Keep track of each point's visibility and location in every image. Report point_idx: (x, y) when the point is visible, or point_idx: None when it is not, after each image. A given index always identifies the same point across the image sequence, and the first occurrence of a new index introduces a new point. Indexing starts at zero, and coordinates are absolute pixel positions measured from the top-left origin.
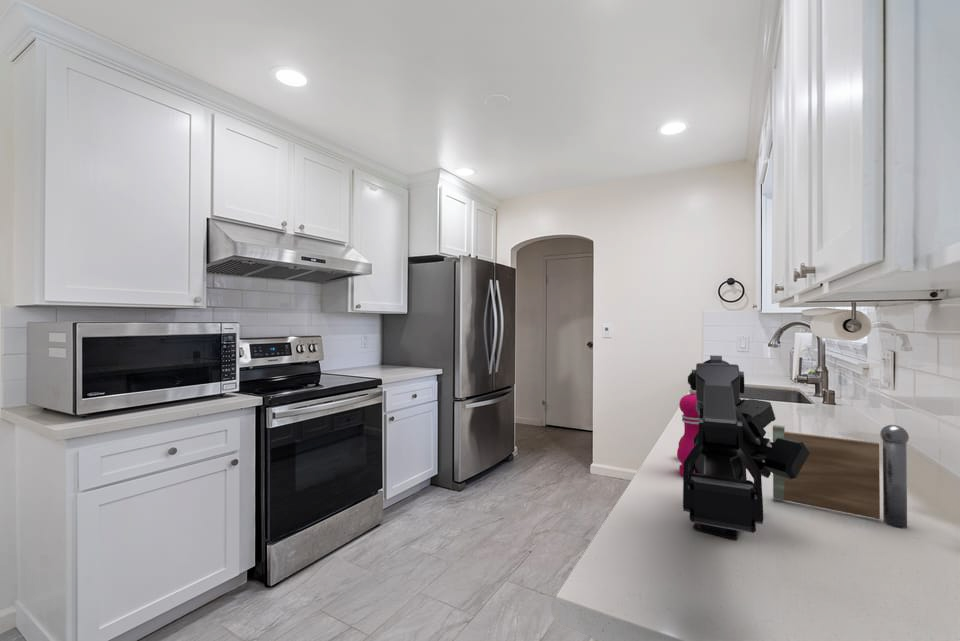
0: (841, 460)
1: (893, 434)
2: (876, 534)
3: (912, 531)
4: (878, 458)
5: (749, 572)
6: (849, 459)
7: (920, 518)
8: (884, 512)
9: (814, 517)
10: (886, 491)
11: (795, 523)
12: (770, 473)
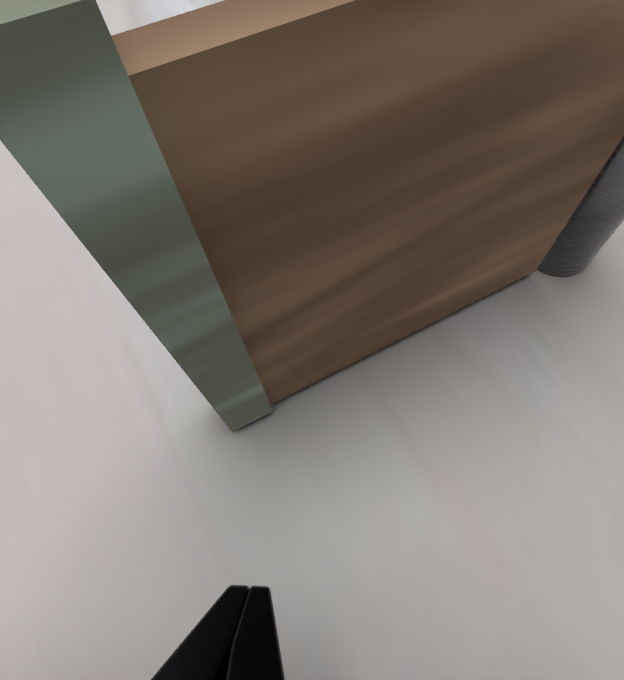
0: (524, 120)
1: None
2: (620, 393)
3: (614, 262)
4: None
5: None
6: (567, 91)
7: None
8: (558, 245)
9: (424, 447)
10: (618, 177)
11: (446, 617)
12: (270, 595)
